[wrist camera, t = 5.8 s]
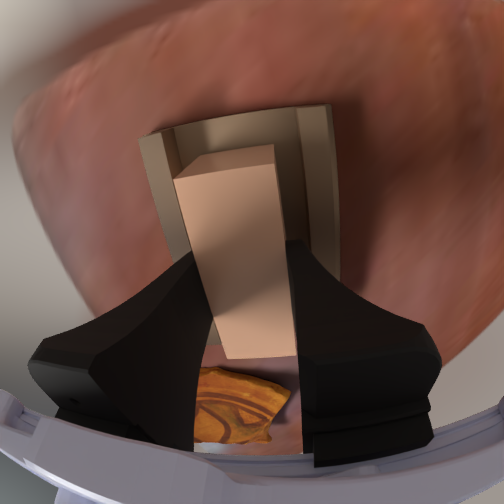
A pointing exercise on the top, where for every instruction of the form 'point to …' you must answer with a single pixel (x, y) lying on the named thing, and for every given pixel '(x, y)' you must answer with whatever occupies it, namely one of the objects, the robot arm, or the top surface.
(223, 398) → the pottery fragment
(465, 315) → the top surface
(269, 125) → the grey u-channel
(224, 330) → the clay strip
